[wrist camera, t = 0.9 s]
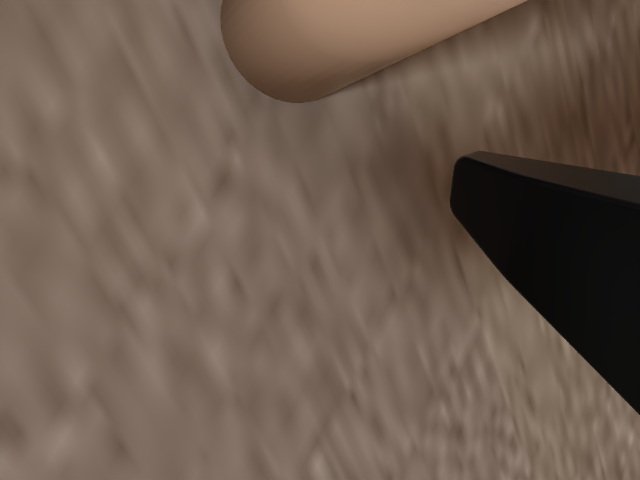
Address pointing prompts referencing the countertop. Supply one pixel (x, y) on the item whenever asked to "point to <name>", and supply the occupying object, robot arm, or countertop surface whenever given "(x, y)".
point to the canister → (337, 38)
